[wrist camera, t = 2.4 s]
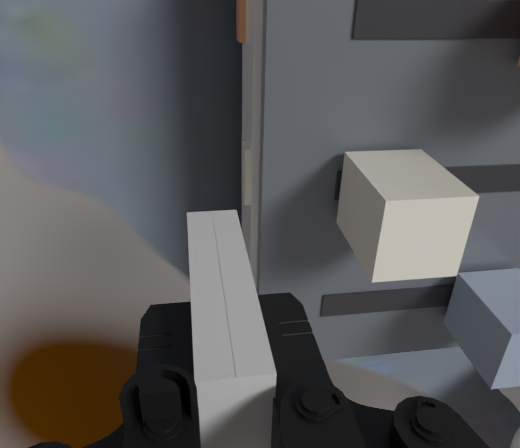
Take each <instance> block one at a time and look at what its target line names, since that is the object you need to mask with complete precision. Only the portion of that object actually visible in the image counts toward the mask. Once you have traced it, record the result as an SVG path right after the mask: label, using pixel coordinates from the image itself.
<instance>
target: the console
mask: <svg viewBox="0 0 520 448" xmlns="http://www.w3.org/2000/svg"><path fill="white" fill-rule="evenodd" d="M236 39H237V40H238V42H239V43H242V234H243V238H244V242H245V246H246V250H247V255H248V259H249V263H250V267H251V271H252V275H253V279H254V283H255V287H256V291H257V295H263V294H275V293H288V292H290V293H291V294H292V295H293V296H294V297H296V298H297V299H298V300H299V301H300V302H301V303H302V304H303V307H304V309H305V312H306V315H307V317H308V322H309V323H310V326H311V328H312V332H313V334H314V336H315V339H316V342H317V345H318V347H319V350H320V353H321V355H322V358H323V360H330V359H340V358H350V357H360V356H370V355H380V354H390V353H400V352H410V351H420V350H430V349H440V348H450V347H460V346H459V345H458V343H457V342H456V340H455V339H454V338H453V336H452V335H451V333H450V332H449V331H448V329H447V328H446V326H445V325H444V324H443V323H444V319H445V316H446V312H447V309H448V305H449V302H450V298H451V295H452V291H453V288H454V284H455V281H456V277H457V276H451V277H438V278H425V279H412V280H399V281H386V282H373V283H372V282H371V281H370V279H369V277H368V275H367V274H366V272H365V270H364V269H363V267H362V265H361V264H360V262H359V260H358V258H357V257H356V255H355V253H354V252H353V250H352V248H351V247H350V245H349V243H348V241H347V240H346V238H345V236H344V235H343V233H342V231H341V230H340V228H339V226H338V225H337V223H336V221H337V212H338V204H339V195H340V187H341V179H342V170H343V162H344V154H345V152H354V151H382V150H410V149H422V150H423V151H424V152H425V153H427V154H428V155H429V156H430V157H432V158H433V159H434V160H435V161H436V162H438V163H439V164H440V165H441V166H443V167H444V168H445V169H446V170H448V171H449V172H450V173H451V174H453V175H454V176H455V177H456V178H458V179H459V180H460V181H461V182H463V183H464V184H465V185H466V186H467V187H469V188H470V189H471V190H472V191H474V192H475V193H476V194H477V195H479V200H478V203H477V207H476V210H475V214H474V217H473V221H472V224H471V228H470V231H469V235H468V238H467V242H466V245H465V249H464V252H463V256H462V259H461V263H460V266H459V270H458V273H462V272H475V271H488V270H501V269H514V268H519V269H520V67H517V64H518V61H519V57H520V0H236ZM458 273H457V274H458Z"/></svg>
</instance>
